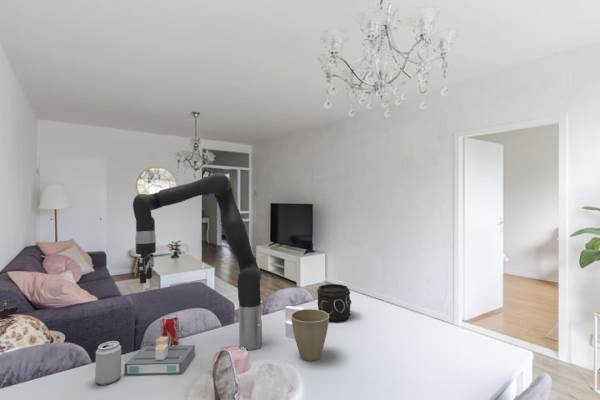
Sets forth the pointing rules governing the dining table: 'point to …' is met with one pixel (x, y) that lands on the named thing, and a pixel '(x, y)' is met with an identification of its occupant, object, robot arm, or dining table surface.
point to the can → (108, 362)
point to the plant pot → (310, 332)
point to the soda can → (170, 328)
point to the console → (160, 361)
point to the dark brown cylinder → (334, 301)
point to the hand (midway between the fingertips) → (146, 280)
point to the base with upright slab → (290, 320)
